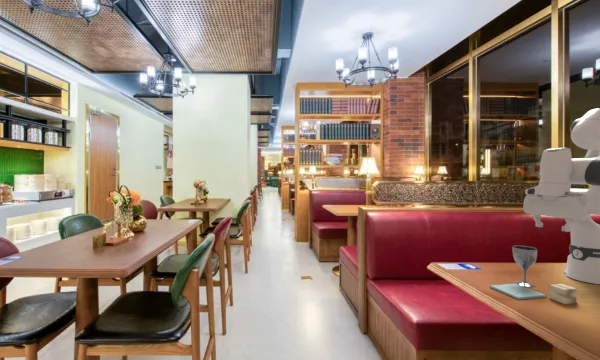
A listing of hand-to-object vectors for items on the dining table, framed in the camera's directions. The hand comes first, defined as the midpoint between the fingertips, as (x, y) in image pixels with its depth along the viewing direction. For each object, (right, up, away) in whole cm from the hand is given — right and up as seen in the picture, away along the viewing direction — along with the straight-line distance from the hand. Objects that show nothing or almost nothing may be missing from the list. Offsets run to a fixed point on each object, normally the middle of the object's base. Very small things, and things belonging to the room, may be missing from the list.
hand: (551, 229), depth 106 cm
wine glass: (0, -25, +13) cm, 28 cm away
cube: (+1, -25, -3) cm, 25 cm away
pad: (-10, -25, +4) cm, 27 cm away
